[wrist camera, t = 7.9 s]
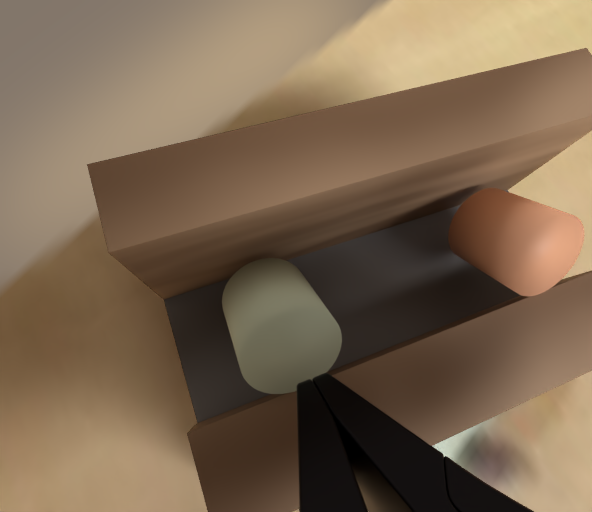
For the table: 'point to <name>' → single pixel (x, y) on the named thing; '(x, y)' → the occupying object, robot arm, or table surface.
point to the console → (356, 260)
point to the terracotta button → (516, 240)
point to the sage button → (278, 326)
